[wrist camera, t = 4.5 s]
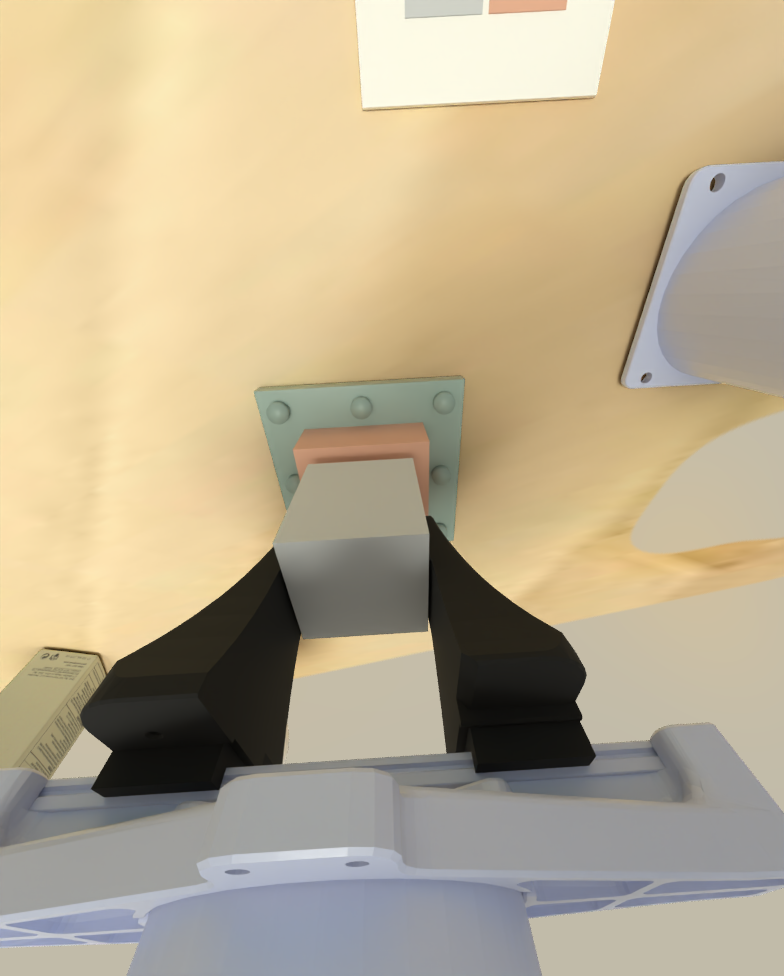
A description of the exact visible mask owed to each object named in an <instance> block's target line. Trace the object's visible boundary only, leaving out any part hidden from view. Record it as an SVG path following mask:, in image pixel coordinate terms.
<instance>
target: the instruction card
mask: <svg viewBox="0 0 784 976" xmlns="http://www.w3.org/2000/svg"><path fill="white" fill-rule="evenodd" d="M614 2H615V0H355V5H356V20H357V35H358V50H359V65H360V80H361V95H362V109H363V110H378V109H396V108H414V107H433V106H451V105H469V104H488V103H506V102H524V101H543V100H561V99H579V98H594V97H595V96H596V95H597V90H598V84H599V79H600V74H601V69H602V64H603V59H604V53H605V48H606V43H607V38H608V33H609V28H610V23H611V17H612V12H613V7H614Z"/></svg>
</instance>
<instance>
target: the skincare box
mask: <svg viewBox="0 0 784 976" xmlns="http://www.w3.org/2000/svg"><path fill="white" fill-rule="evenodd" d="M105 677H106V674H105V671H104V668H103V666H102V663H101V661H100V659H99V657H98V656H97V655H90V654H82V653H74V652H66V651H56V650H48V649H41V650H40V651H39V652H38V653H37V654H36V655H35V656H34V657H33V658H32V659H31V661H30V662H29V663H28V664H27V665H26V666H25V667H24V668H23V669H22V670H21V671H20V672H19V673H18V674H17V676H16V677H15V678H14V679H13V680H12V681H11V682H10V683H9V684H8V685H7V686H6V687H5V688H4V689H3V690H2V692H1V693H0V768H15V767H24V768H31V769H35V770H37V771H39V772H41V773H43V774H44V775H45V776H47V778H48V779H51V777H52V776H53V774H54V772H55V771H56V770H57V768H58V767H59V765H60V764H61V762H62V761H63V759H64V758H65V756H66V755H67V753H68V752H69V750H70V749H71V747H72V746H73V744H74V743H75V741H76V740H77V738H78V737H79V735H80V734H81V732H82V731H83V729H84V728H85V727H84V726H83V725H82V722H81V719H80V713H81V711H82V709H83V707H84V706H85V705H86V703H87V702H88V700H89V699H90V698H91V696H92V695H93V694H94V692H95V691H96V689H97V688H98V687H99V685H100V684H101V683H102V681H103V680H104V678H105Z"/></svg>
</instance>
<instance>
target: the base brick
mask: <svg viewBox="0 0 784 976" xmlns="http://www.w3.org/2000/svg"><path fill="white" fill-rule="evenodd" d="M429 443H430V441H429V439H428V436H427V433H426V430H425V427H424V425H423V422H419V423H402V424H385V425H369V426H352V427H335V428H319V429H304V431H303V433H302V434H301V436H300V438H299V440H298V441H297V443H296V445H295V447H294V448H293V453H294V458H295V462H296V466H297V470H298V475H299V479H300V481H301V479H302V476H303V474H304V472H305V470H306V467H307V465H308V464H320V463H337V462H353V461H370V460H387V459H403V458H413V461H414V466H415V470H416V475H417V480H418V484H419V489H420V493H421V498H422V503H423V507H424V512H425V516H428V511H429Z"/></svg>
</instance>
